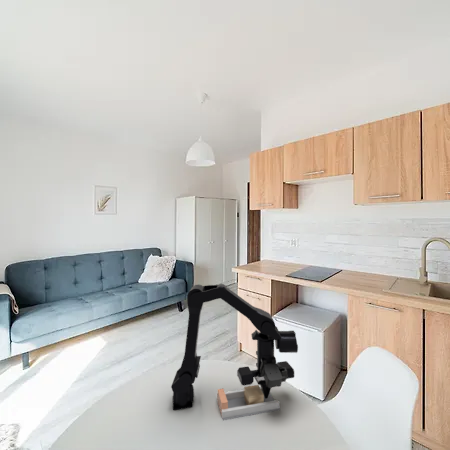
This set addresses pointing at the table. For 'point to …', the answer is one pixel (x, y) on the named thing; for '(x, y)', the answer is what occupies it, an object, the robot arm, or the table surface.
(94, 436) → the table surface
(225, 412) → the channel
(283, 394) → the table surface
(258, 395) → the tan block
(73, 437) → the table surface
